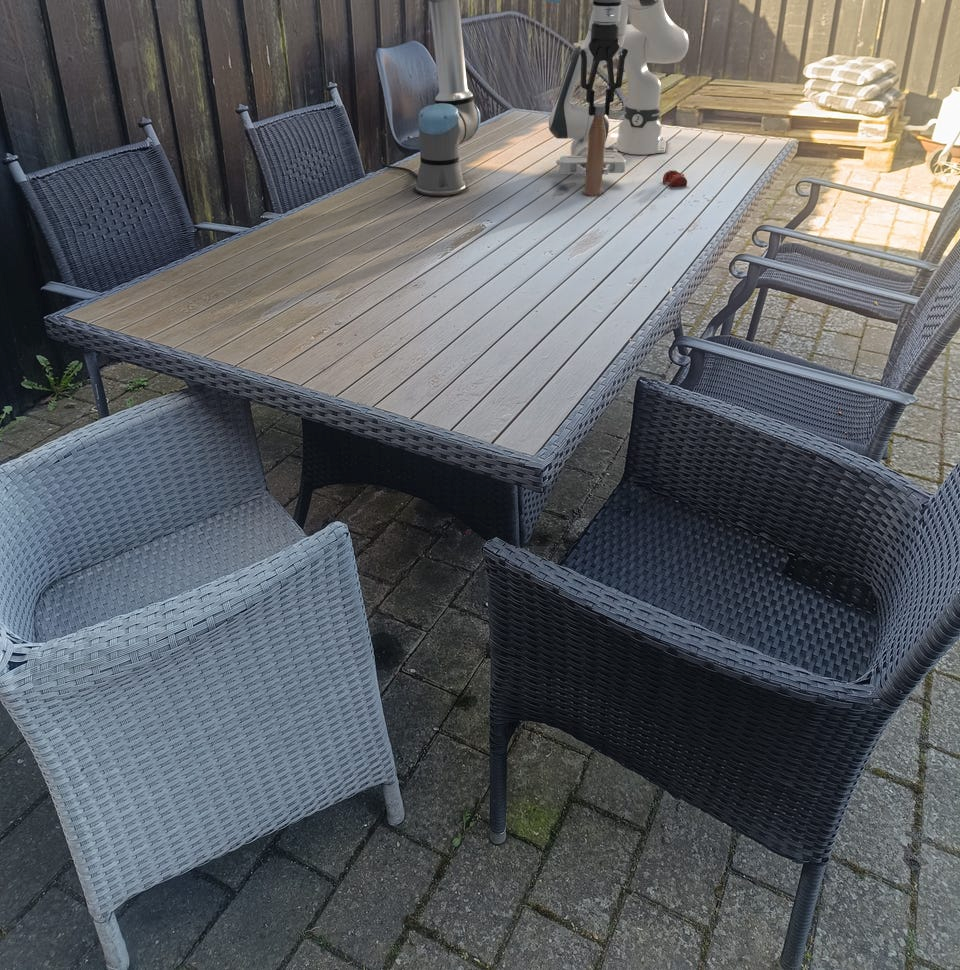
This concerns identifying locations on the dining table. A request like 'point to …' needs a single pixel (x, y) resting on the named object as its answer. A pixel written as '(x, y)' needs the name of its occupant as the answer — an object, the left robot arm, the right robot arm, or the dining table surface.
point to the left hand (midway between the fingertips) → (598, 114)
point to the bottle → (595, 156)
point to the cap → (599, 109)
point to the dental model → (675, 179)
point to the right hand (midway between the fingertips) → (594, 171)
